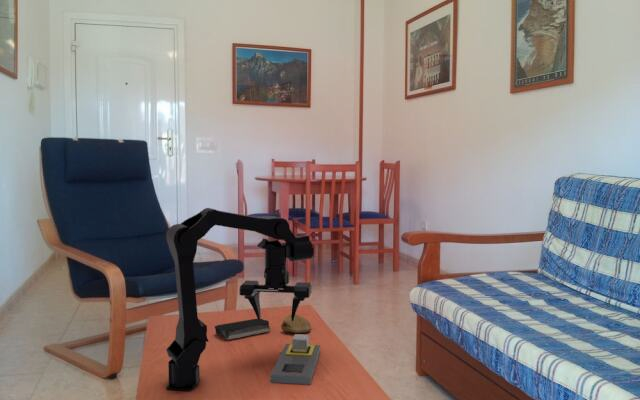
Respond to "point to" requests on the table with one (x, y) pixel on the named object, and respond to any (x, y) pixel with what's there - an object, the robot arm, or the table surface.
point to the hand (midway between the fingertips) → (275, 320)
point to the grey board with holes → (295, 366)
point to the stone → (296, 324)
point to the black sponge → (242, 328)
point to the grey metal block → (300, 343)
